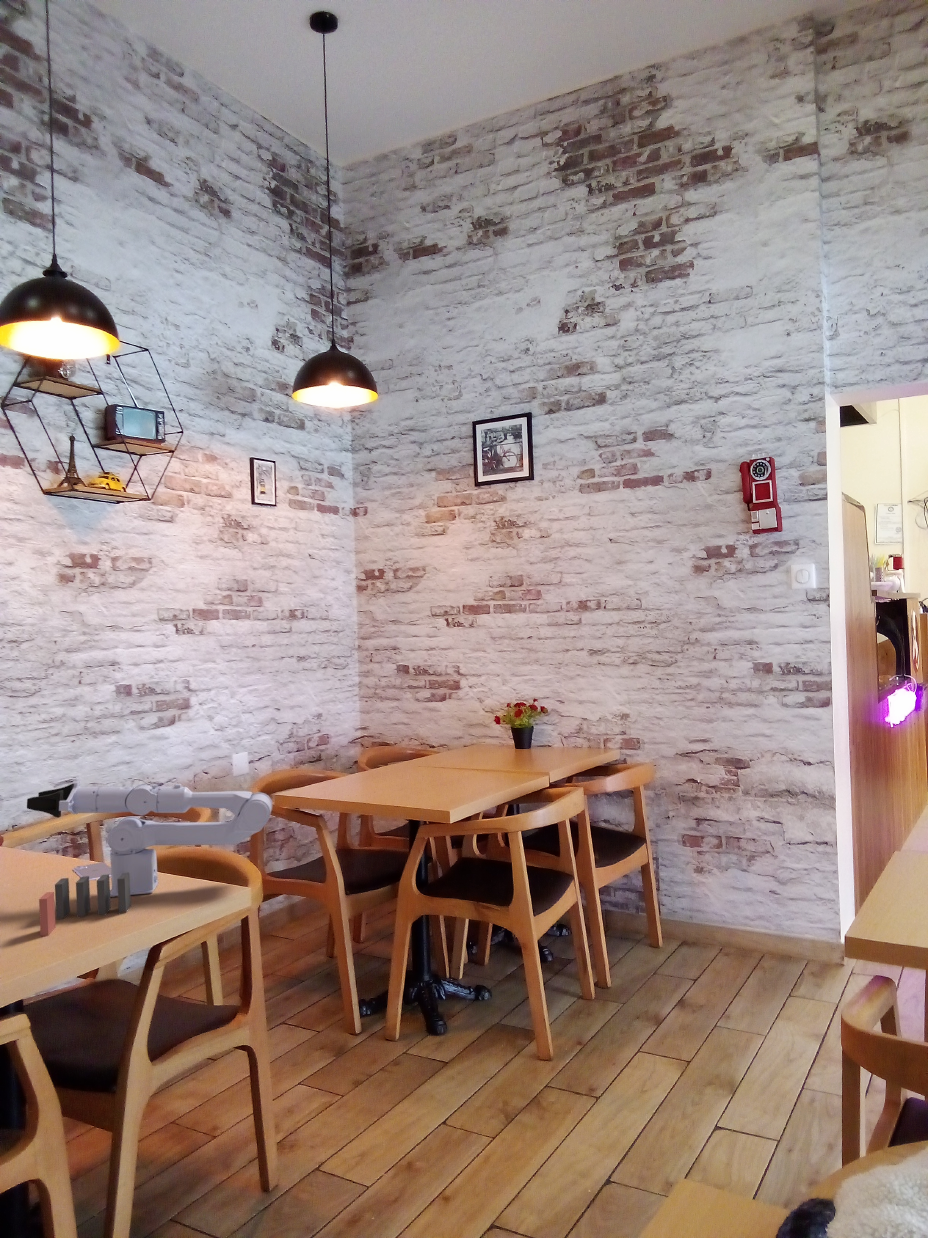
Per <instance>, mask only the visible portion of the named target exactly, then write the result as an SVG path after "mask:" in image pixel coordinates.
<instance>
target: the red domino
mask: <svg viewBox="0 0 928 1238" xmlns="http://www.w3.org/2000/svg"><path fill="white" fill-rule="evenodd" d="M38 907H39V908H38V909H39V927H40V929H39V930H40V937H47V936H50V934H51V933H53V931H54V930H55V929H56V903H55V891H49V892H44V894H43V895H42V896H40V898H38Z"/></svg>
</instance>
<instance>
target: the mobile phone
mask: <svg viewBox="0 0 928 1238" xmlns="http://www.w3.org/2000/svg"><path fill="white" fill-rule="evenodd" d="M72 870H73V871H74V872H76V873H75V874H76V875H78V876H79V877H80V878H81V877H85V876H89V882H91V881H90V880H94V881H97V880H96V879H99V878H100V877H101V876H102V875H108V874H109V878H111V865H108V864H107V863H106V862H103V861H102V862H97V863H96V862H95V863H89V864H84V865H78V866H75V867H73V869H72Z"/></svg>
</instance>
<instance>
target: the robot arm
mask: <svg viewBox="0 0 928 1238" xmlns="http://www.w3.org/2000/svg"><path fill="white" fill-rule="evenodd" d="M80 785H81V784H80V781H78V780H77V781H76V780H75V782H74V783H70V784H68V785H65V786H62V787H59V788H55V789H50V790H44V791H43V790H42V791H40V792H38V795H37V796H32V797H29V798H27V799H26V809H28V810H32V811H35V812H37V811H38V812H42V813H46V814H48V815H50V816H53V818H54V817H55V818H57V819H58V818H60V817H62V812H68V813H70V814H71V815H78V814H120V813H131V814H134V815H137V816H145V815H147V814H149V813H150V812H154V813H155V814H157V813H159V814H160V813H162V814H165V813H166V814H168V813H169V814H171V813H173V814H176V813H177V814H181V813H182V814H184V813H187V811H189V810H190V809H191V808H209V809H224V810H225V809H227V810H228V811H229V812H231V814H233V815H234V817H232V819H231V820H230V821H224V822H223V821H221V822H220V821H218V822H217V821H215V822H214V821H211V822H210V821H209V822H208V821H206V822H202V821H199V822H197V821H196V822H195V821H194V822H191V821H190V822H188V821H187V822H179V821H178V822H156V821H154V820H145V819H141V818H139V817H137V816H131V815H130V816H125V817H123V818H121V819H120V821H119V822H118V823H117V824H116V825H115V826H114V827H112V828H111V829H110V830H109V832H108V835H107V837H106V838H107V845H108V847H109V848H110V850H109V853H110V854H109V855H110V860H109V861H110V867H111V877H110V878H111V879H110V880H111V888H110V898H111V897H112V898H113V897H118V882H117V879H118V878H119V877H120V875H121V874H122V873H129V875H130V896H133V895H142V894H143V895H144V894H152V893H153V892H154V891H155V889H156V887H157V886H158V884H159V880H158V861H157V860H158V859H157V852H156V849H155V848H150V847H154V846H218V845H219V846H225V845H226V846H230V845H231V846H232V845H234V846H235V845H238V844H240V843H242V842H243V841H245V840H246V839H248V838H249V837H251V836H252V835H254V834H256V833H258V832H261V831H262V829H264V827H265V825H267V823H268V821H269V820H270V818H271V813H272V811H273V801H272V799H271V796H269V795H268V794H267V793H264V792H254V793H253V792H252V791H248V790H244V791H243V790H232V791H230V790H229V791H203V792H202V791H201V792H199V791H198V792H197V791H196V792H193V791H192V790H190V789H189V788H188V787H187V786H182V783H175V784H174V786H159V785H158V784H157V783H156V784H155V783H154V784H152V786H151V785H148V784H146V783H142V784H138V785H137V786H135V787H134V786H133V787H132V786H80Z"/></svg>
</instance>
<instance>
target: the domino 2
mask: <svg viewBox="0 0 928 1238" xmlns="http://www.w3.org/2000/svg"><path fill="white" fill-rule="evenodd" d="M75 892H76V894H75V895H76V916H77V918H85V917H86V916H87V915H88V914H87V913H89V912H90V911H91V895H90V894H91V893H90V892H91V891H90V881H89V876H85V877H80V878H79V879H78V880H77V881H76V882H75Z"/></svg>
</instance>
